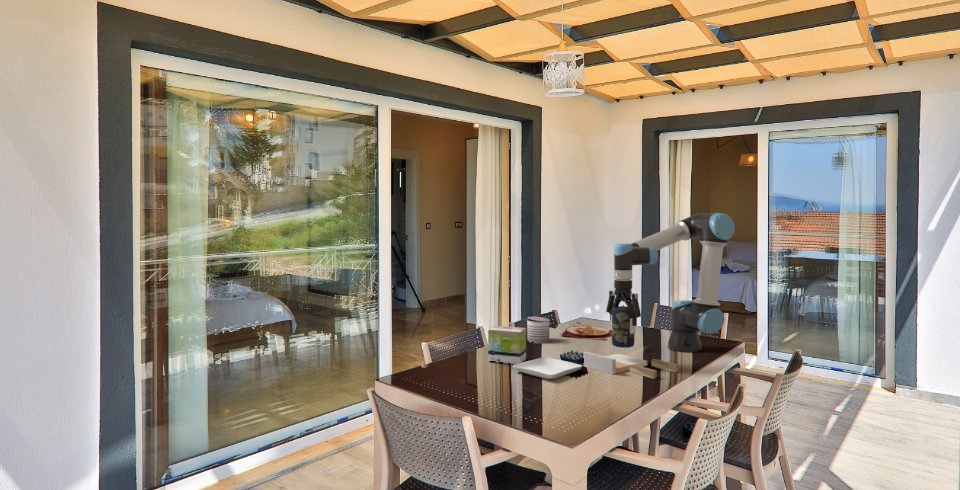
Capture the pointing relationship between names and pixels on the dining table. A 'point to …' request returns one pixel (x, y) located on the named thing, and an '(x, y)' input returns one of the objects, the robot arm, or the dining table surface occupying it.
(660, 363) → the rails
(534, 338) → the can
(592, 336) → the plate with food
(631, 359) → the board
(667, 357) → the dining table surface
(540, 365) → the salad plate
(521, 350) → the tea box
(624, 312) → the canister
